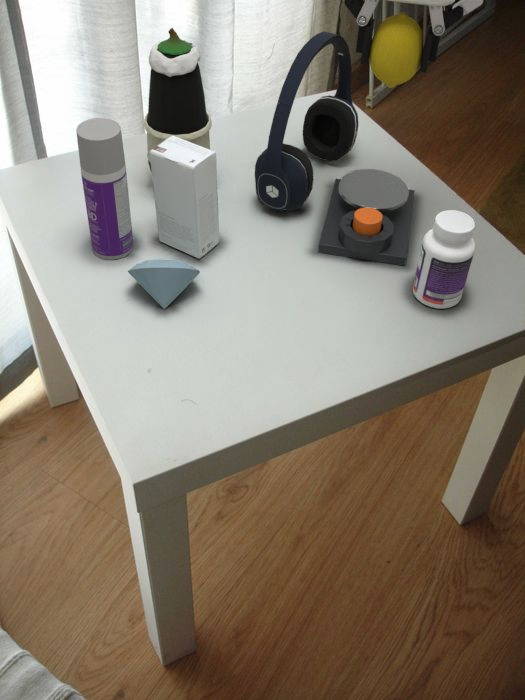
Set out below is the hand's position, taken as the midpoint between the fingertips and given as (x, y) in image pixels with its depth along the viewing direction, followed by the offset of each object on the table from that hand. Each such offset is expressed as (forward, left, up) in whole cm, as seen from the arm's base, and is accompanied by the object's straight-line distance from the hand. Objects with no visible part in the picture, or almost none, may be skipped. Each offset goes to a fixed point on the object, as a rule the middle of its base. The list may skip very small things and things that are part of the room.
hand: (394, 61), depth 83 cm
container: (+28, +14, -19) cm, 37 cm away
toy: (+24, 0, -19) cm, 31 cm away
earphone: (+9, -5, -19) cm, 22 cm away
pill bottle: (-9, +13, -19) cm, 25 cm away
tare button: (0, +7, -17) cm, 18 cm away
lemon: (0, 0, -3) cm, 3 cm away
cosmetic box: (+20, +11, -19) cm, 30 cm away
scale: (0, +2, -19) cm, 19 cm away
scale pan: (0, 0, -16) cm, 16 cm away
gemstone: (+20, +20, -19) cm, 35 cm away
